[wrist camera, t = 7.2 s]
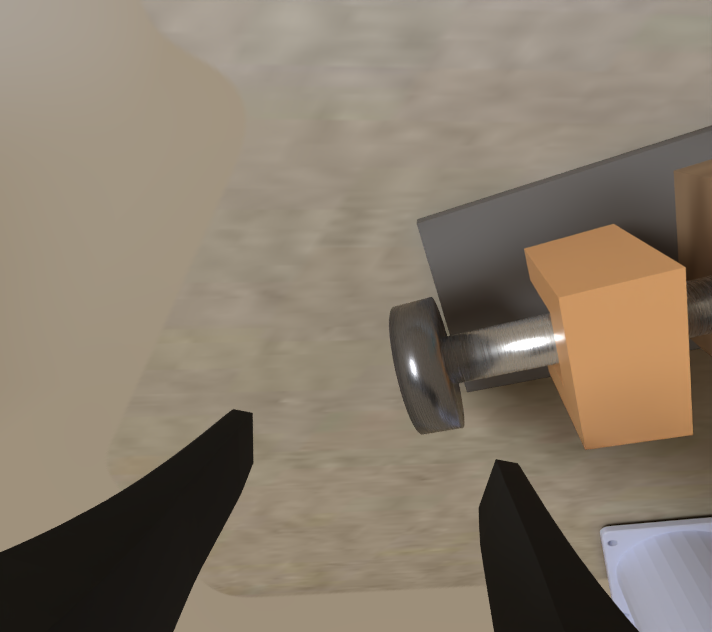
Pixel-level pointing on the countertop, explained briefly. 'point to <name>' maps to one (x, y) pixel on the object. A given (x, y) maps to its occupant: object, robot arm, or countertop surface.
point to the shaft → (483, 354)
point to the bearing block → (569, 232)
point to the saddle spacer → (617, 335)
